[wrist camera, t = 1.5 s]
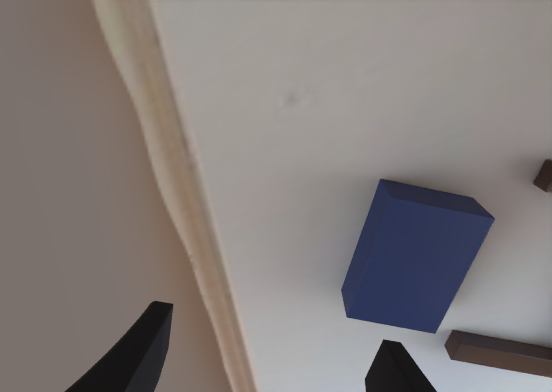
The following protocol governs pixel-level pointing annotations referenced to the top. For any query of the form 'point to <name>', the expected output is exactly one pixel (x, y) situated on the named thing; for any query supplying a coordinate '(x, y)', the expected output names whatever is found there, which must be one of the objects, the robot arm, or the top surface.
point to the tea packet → (413, 255)
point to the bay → (501, 350)
